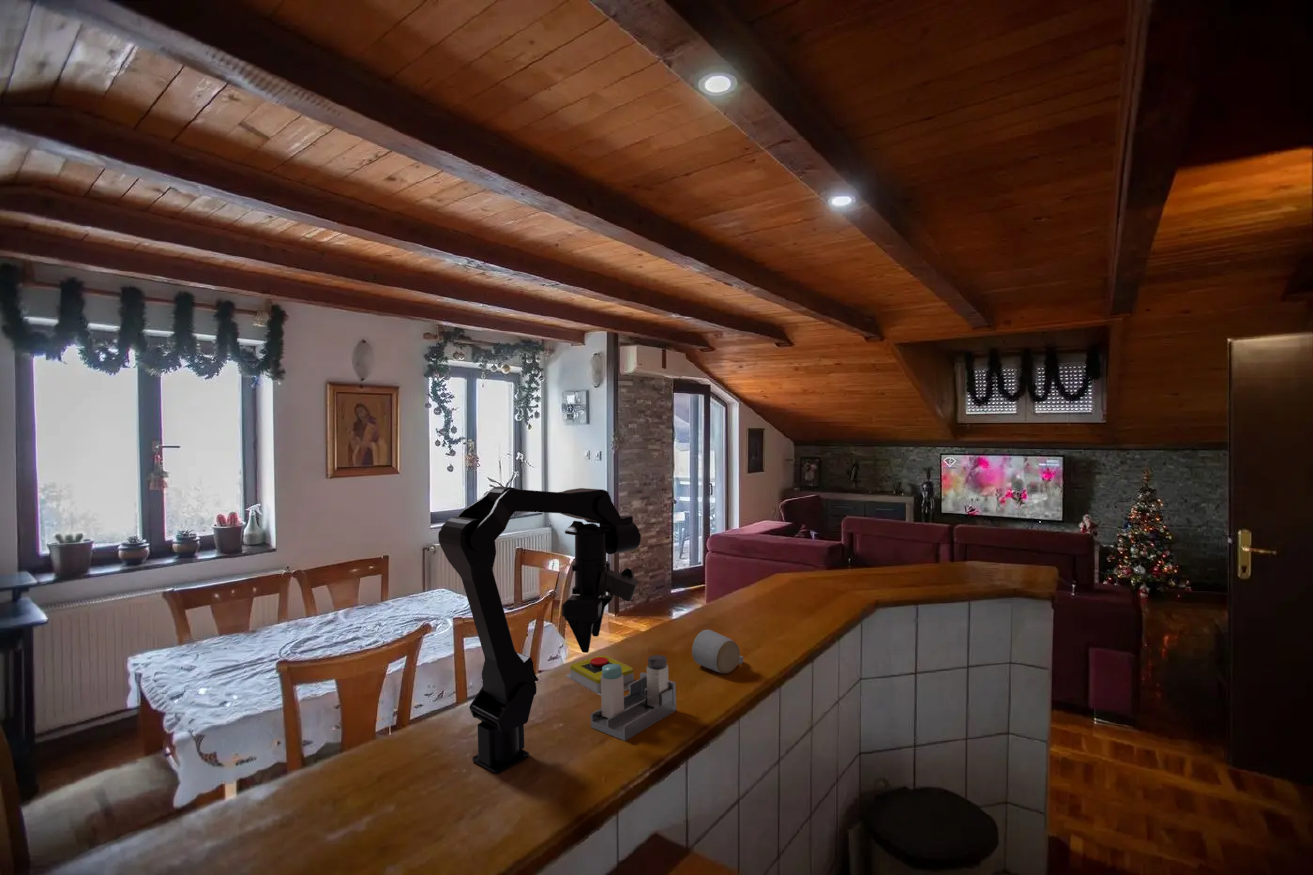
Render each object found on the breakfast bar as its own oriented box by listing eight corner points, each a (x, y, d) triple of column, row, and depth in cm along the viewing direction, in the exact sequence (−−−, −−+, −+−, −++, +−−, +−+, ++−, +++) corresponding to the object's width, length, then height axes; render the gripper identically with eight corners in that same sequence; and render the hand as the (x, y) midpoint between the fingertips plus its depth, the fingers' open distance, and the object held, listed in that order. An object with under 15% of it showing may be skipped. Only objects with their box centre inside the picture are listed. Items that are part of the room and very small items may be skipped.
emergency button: (600, 646, 137) (642, 665, 125) (600, 666, 137) (642, 687, 125) (564, 657, 131) (604, 678, 119) (564, 677, 131) (604, 700, 119)
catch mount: (625, 741, 102) (623, 681, 102) (591, 727, 107) (589, 670, 107) (676, 710, 113) (674, 656, 113) (643, 699, 118) (641, 647, 118)
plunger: (613, 721, 106) (612, 672, 106) (599, 715, 108) (598, 668, 108) (626, 713, 109) (625, 666, 109) (612, 708, 111) (611, 662, 111)
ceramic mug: (718, 679, 127) (718, 642, 127) (691, 668, 133) (691, 632, 133) (752, 666, 133) (752, 631, 134) (725, 656, 140) (724, 623, 140)
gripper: (627, 568, 102) (627, 663, 101) (640, 549, 120) (641, 629, 120) (561, 567, 103) (561, 661, 102) (584, 549, 121) (585, 628, 121)
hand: (590, 643), depth 111 cm, fingers open, 9 cm apart
